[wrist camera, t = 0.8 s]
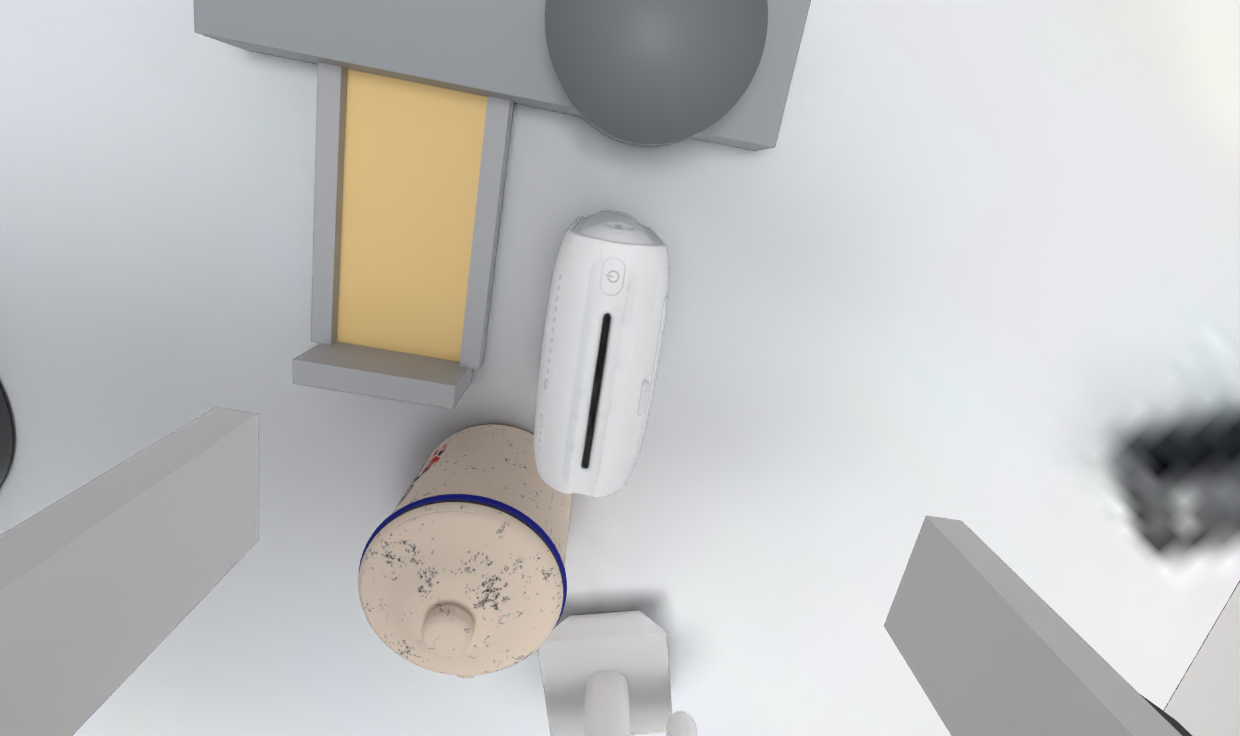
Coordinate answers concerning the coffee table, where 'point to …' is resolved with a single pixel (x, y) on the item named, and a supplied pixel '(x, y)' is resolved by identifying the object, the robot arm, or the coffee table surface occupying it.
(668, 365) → the coffee table surface
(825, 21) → the coffee table surface
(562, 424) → the photo printer
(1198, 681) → the box
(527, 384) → the coffee table surface
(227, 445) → the robot arm
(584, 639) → the figurine
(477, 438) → the teacup with lid
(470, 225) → the deck
